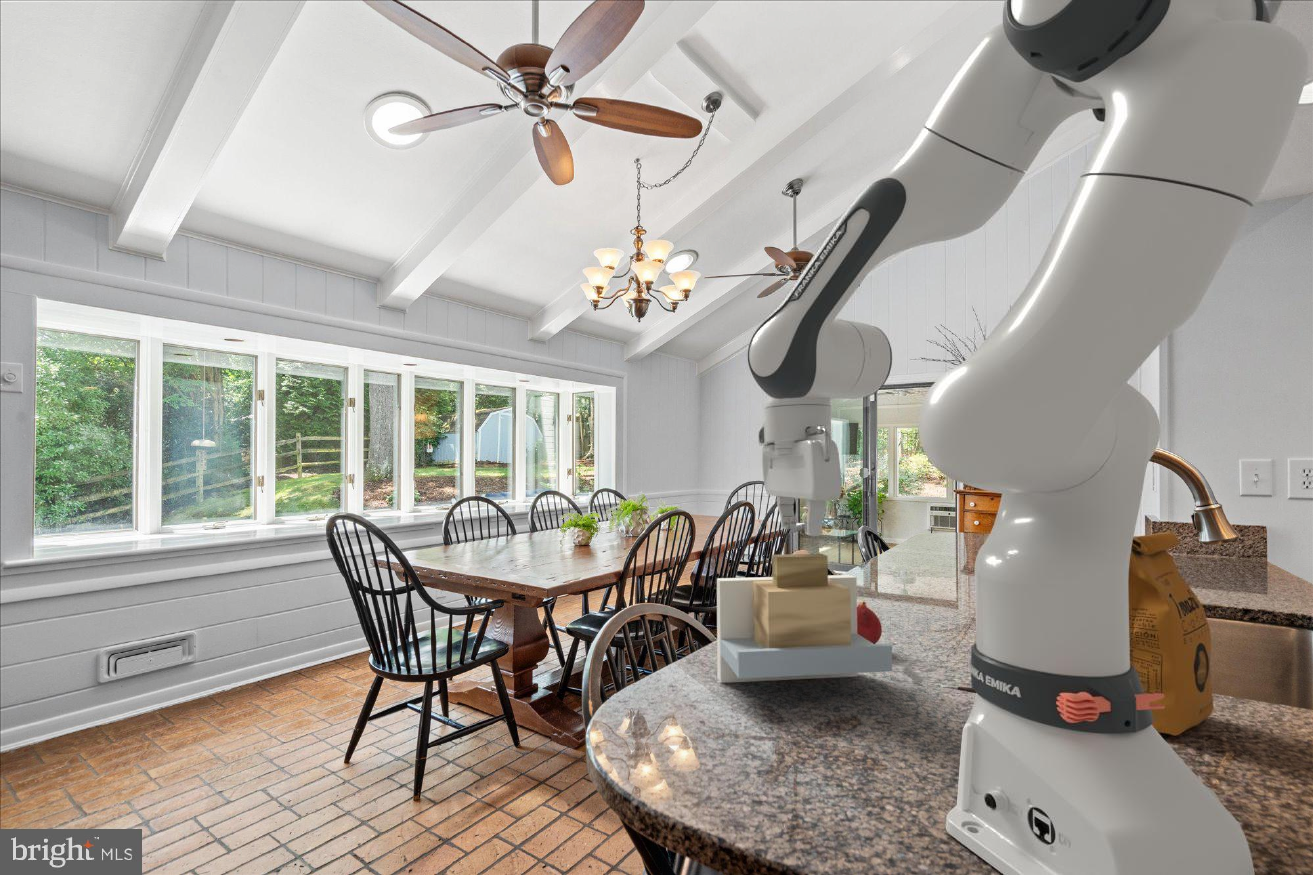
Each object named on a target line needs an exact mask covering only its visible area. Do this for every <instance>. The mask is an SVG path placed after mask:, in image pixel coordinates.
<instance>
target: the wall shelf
mask: <svg viewBox="0 0 1313 875" xmlns="http://www.w3.org/2000/svg"><path fill="white" fill-rule="evenodd" d="M828 579H829V580H831V581H833V582H835V583H838V584H840V585H842V586H844V587H846V588H848V589H850V610H851V645H839V646H814V647H790V648H766V649H762V648H761V647H760V646H759V645H758V644H757V643H756V642H755V641H754V631H753V581H773V580H772V576H763V577H762V576H761V577H757V576H756V577H755V576H754V577H720V578H719V577H717V578H716V641H717V642H716V643H717V646H716V649H717V651H716V652H717V653H716V654H717V657H716V658H717V659H716V660H717V663H716V664H717V670H716V671H717V673H716V674H717V675H716V676H717V680H718V681H719V682H720V683H721V684H722V683H724V684H725V683H727V684H728V683H744V682H745V683H747V682H749V683H750V682H764V681H765V682H767V681H789V680H804V679H805V680H806V679H807V680H808V679H827V678H828V679H829V678H848V677H850V678H851V677H858V676H859V674H861V673H862V674H863V673H882V672H884V673H885V672H893V645H891V644H890V643H876V644H873V643H871V642H870V641H868V640H867V639H865V638H863V637H862V636H860V635H858V634H857V607H858V602H857V601H858V597H857V596H858V594H857V593H858V592H857V586H858V585H857V583H858V582H857V576H854V575H851V574H836V575H835V574H833V575H831V574H828ZM858 673H859V674H858Z"/></svg>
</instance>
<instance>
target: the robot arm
mask: <svg viewBox="0 0 1313 875" xmlns="http://www.w3.org/2000/svg"><path fill="white" fill-rule="evenodd" d="M1002 10H1003V11H1002V23H1000V24H998V25H997V26H995V27H993V28H992V29H991V30H989V32H988V33H986V35H984V37H982V39H981V40H980V41H979V43H978V44H977V45H976V47H975V48H974V49H973V50H972V52H971V53H970V54H969V55H968V57H967V58H966V59H965V60H964V62H963V63H962V65H961V66H960V68H959V69H958V71H956V73H955V75H954V76H953V77H952V79H951V81H950V82H949V83H948V85H947V87H946V88H945V89H944V91H943V93H942V94H941V96H940V97H939V98H938V100H937V102H936V104H935V105H934V107H933V108H932V110H931V112H930V114H929V115H928V117H927V118H926V120H925V122H924V125H922V127H921V129H920V131H919V132H918V134H917V136H916V137H915V139H914V140H913V142H912V143H911V145H910V147H908V149H907V150H906V152H905V153H904V154H903V155H902V156H901V158H900V159H899V160H898V161H897V162H896V163H895V164H894V165H893V166H892V167H891V168H890V169H889V171H887V172H886V174H885V175H883V176H882V177H881V178H880V179H878V180H877V181H874V182H873V183H870V184H869V185H867V186H866V187H865V188H863V190H862V191H860V192H859V194H858V195H857V196H856V197H855V198H854V199H853V200H852V201H851V203H850V204H849V205H848V207H847V208H846V209H845V211H844V212H843V213H842V215H840V217H839V219H838V220H837V222H836V223H835V224H834V225H833V227H832V229H831V230H830V232H829V233H828V234H827V236H826V237H825V239H824V240H823V241H822V243H821V244H820V246H819V248H818V249H817V250H816V251H815V253H814V255H813V256H812V257H811V259H810V260H809V262H808V264H807V265H806V266H805V268H804V269H803V271H802V272H801V273H800V274H799V276H798V278H797V280H796V281H795V282H794V284H793V285H792V287H791V288H790V290H789V291H788V292H787V294H786V295H785V297H784V298H783V299H782V300H781V302H779V303H778V305H777V306H776V307H775V308H773V310H772V311H771V312H770V313H769V314H768V315H767V316H766V317H765V319H763V321H761V323H760V324H759V325H758V327H757V328H756V330H755V331H754V333H753V335H752V337H751V338H750V341H749V345H748V349H747V364H748V368H749V370H750V373H751V375H752V377H753V379H754V381H755V382H756V384H757V385H758V387H760V389H761V390H762V391H763V392H764V393H765V394H766V400H765V402H764V420H763V424H762V426H761V428H760V429H759V431H758V433H757V441H758V445H759V446H762V450H761V463H762V464H761V465H762V475H763V476H762V477H763V478H762V479H763V485H764V489H765V491H766V494H767V495H768V496H773V497H776V504H777V509H778V512H779V515H780V526H781V528H782V529H784V530H795V529H796V528H797V516H796V515H795V512H794V504H795V499H798V500H799V499H800V500H805V508H806V509H807V513H806V514H807V515H806V520H804V533H805V534H806V535H807V536H809V537H810V536H811V537H819V536H821V535H822V534H823V521H824V518H825V514H826V511H827V510H826V509H827V501H837V500H839V499H840V497H841V494H842V489H843V484H842V483H843V482H842V473H841V472H842V471H841V462H840V453H839V449H838V445H837V443H836V442H835V441H834V440H833V439H832V438H833V437H832V411H831V410H832V408H831V399H845V400H850V399H852V400H857V399H861V398H865V397H871V396H874V394H876V393H877V392H878V391H880V390H881V389H882V387H884V385H885V383H886V381H887V380H888V379H889V376H890V373H891V369H892V366H893V350H892V346H891V343H890V341H889V338H888V337H887V335H886V334H885V333H884V332H883V331H884V330H881V329H880V328H879V327H877V326H874V325H871V324H868V323H864V322H860V321H853V320H844V319H841V318H836V317H837V316H838V315H839V313H840V312H841V311H842V309H843V308H844V307H845V306H846V304H847V303H848V302H849V300H850V299H851V297H852V296H853V295H854V293H855V292H856V290H857V289H858V288H859V287H860V285H861V284H862V283H863V281H864V280H865V279H866V277H867V276H868V274H870V273H871V271H872V270H873V269H875V267H876V266H878V265H879V264H881V263H882V262H883V261H885V260H887V259H888V258H890V257H892V256H894V255H897V254H899V253H901V252H904V251H907V250H909V249H913V248H916V247H920V246H923V245H927V244H928V245H929V244H933V243H938V242H944V241H950V240H954V239H957V238H961V237H963V236H966V235H968V234H970V233H972V232H974V231H977V230H979V229H981V228H983V226H985V224H987V222H989V220H991V218H993V217H994V216H995V214H996V213H997V212H998V211H999V210H1000V209H1001V208H1002V207H1003V206H1004V205H1005V203H1006V202H1007V201H1008V199H1009V198H1010V197H1011V195H1012V194H1013V192H1014V191H1015V189H1016V188H1017V186H1018V185H1019V183H1020V182H1021V180H1022V179H1023V177H1024V176H1025V174H1026V172H1027V171H1028V170H1029V168H1030V167H1031V165H1032V164H1033V162H1034V160H1035V159H1036V157H1037V156H1038V155H1039V153H1040V151H1041V149H1042V147H1043V146H1044V145H1045V144H1046V142H1047V141H1048V139H1049V138H1050V137H1051V135H1052V134H1053V133H1054V132H1055V131H1056V129H1057V128H1058V127H1059V126H1061V125H1062V123H1063V122H1065V121H1066V120H1067V119H1069V118H1070V117H1073V116H1074V115H1076V114H1078V113H1080V112H1084V111H1087V110H1088V111H1089V110H1091V111H1092V113H1093V116H1094V118H1095V119H1096V120H1097V121H1098V122H1101V123H1102V122H1103V125H1102V128H1101V131H1100V133H1099V137H1098V139H1097V141H1096V144H1095V146H1094V147H1093V149H1092V152H1091V154H1090V156H1089V158H1088V160H1087V162H1086V164H1085V166H1084V168H1083V171H1082V172H1081V174H1080V178H1078V181H1077V184H1076V185H1075V188H1074V190H1073V193H1072V194H1071V197H1070V199H1069V201H1068V203H1067V205H1066V208H1065V210H1064V211H1063V214H1062V216H1061V218H1060V220H1059V222H1058V224H1057V227H1056V229H1055V231H1054V233H1053V235H1052V237H1051V239H1050V242H1049V244H1048V245H1047V248H1046V250H1045V252H1044V253H1043V256H1042V258H1041V260H1040V262H1039V264H1038V266H1037V268H1036V269H1035V271H1034V273H1033V274H1032V277H1031V279H1029V282H1028V283H1027V285H1026V286H1025V288H1024V289H1023V291H1022V292H1021V293H1020V294H1019V297H1018V298H1017V299H1016V300H1015V302H1014V303H1013V305H1012V306H1011V307H1010V309H1009V310H1008V311H1007V313H1006V314H1005V315H1004V316H1003V317H1002V319H1001V320H1000V321H999V323H998V324H997V325H996V327H995V328H994V329H993V330H992V332H990V334H989V335H988V336H987V338H985V340H984V341H983V342H982V343H981V345H980V346H979V347H978V348H977V349H976V350H974V352H973V353H971V355H970V356H969V357H967V358H966V359H965V360H963V361H962V362H961V363H959V364H957V366H955V367H953V368H951V369H950V370H948V371H947V372H945V373H943V375H941V376H940V377H939V378H938V379H936V381H935V382H934V383H933V384H932V385H931V386H930V388H929V390H928V391H927V393H926V395H925V396H924V398H923V400H922V402H921V405H920V410H919V414H918V422H917V424H918V426H917V427H918V438H919V441H920V444H921V447H922V449H923V452H924V454H925V456H926V457H927V459H928V461H929V462H930V463H931V464H932V466H933V467H934V468H935V469H936V470H938V471H939V472H940V473H941V474H942V475H943V476H946V477H948V478H949V479H951V480H953V481H956V482H958V483H962V484H964V485H967V486H969V487H973V488H976V489H979V490H983V491H986V492H991V493H995V494H1001V498H1000V501H999V502H1000V503H999V505H998V510H997V513H996V517H995V520H994V523H993V526H992V528H991V531H990V533H989V535H988V536H987V539H986V540H985V541H984V543H983V544H982V545H981V547H980V548H979V549H978V552H977V554H976V557H975V561H974V600H975V601H974V603H975V605H974V606H975V607H974V608H975V643H974V644H972V645H971V649H970V650H971V651H970V658H969V671H970V684H971V685H970V686H971V688H973V689H974V691H975V692H976V693H975V697H974V698H975V699H974V701H973V704H972V708H971V711H970V714H969V716H968V718H967V720H966V722H965V723H964V726H963V728H962V735H961V745H960V746H961V747H960V755H959V756H960V759H959V771H958V783H957V785H958V786H957V797H956V799H957V800H956V805H955V806H954V807H953V808H952V809H950V811H949V812H948V813H947V815H946V817H945V820H946V822H945V830H946V831H947V833H948V834H949V835H950V836H952V837H953V838H955V839H956V841H958V842H960V843H961V844H962V845H963V846H965V847H967V848H968V849H969V851H971V852H973V853H974V854H976V855H977V856H978V857H980V858H981V859H982V860H984V861H985V862H986V863H988V864H989V865H990V866H992V867H993V868H994V869H996V870H997V871H998V872H1000V873H1001V874H1003V875H1255V870H1254V869H1255V868H1254V864H1253V863H1254V862H1253V858H1252V854H1251V850H1250V847H1249V843H1248V840H1247V837H1246V835H1245V833H1244V830H1243V828H1242V827H1241V824H1240V823H1239V821H1238V820H1237V819H1236V818H1235V817H1234V816H1233V814H1232V813H1230V811H1229V810H1228V809H1227V808H1226V807H1225V806H1224V805H1223V804H1222V802H1221V800H1220V798H1219V797H1218V795H1217V793H1216V792H1215V791H1214V790H1213V789H1212V788H1211V787H1209V786H1207V785H1205V784H1204V783H1203V782H1202V780H1200V778H1199V777H1198V776H1197V775H1196V774H1195V773H1194V772H1193V771H1192V769H1191V768H1190V767H1189V766H1188V764H1186V763H1185V761H1184V760H1183V759H1182V758H1181V757H1180V755H1179V754H1178V753H1177V752H1176V751H1175V750H1174V749H1173V748H1172V746H1171V745H1170V744H1169V743H1168V742H1167V741H1166V740H1165V739H1164V738H1163V737H1162V735H1161V733H1159V732H1157V731H1156V729H1155V728H1154V727H1153V725H1152V723H1153V721H1154V718H1153V715H1152V712H1151V710H1153V709H1164V708H1165V706H1162V705H1149V703H1150V702H1151V701H1157V700H1159V699H1162V698H1164V695H1163V694H1161V693H1155V694H1145V692H1144V689H1143V687H1142V684H1141V681H1140V679H1139V676H1138V674H1137V671H1136V669H1135V668H1134V666H1133V665H1132V664H1130V638H1129V594H1128V576H1129V563H1130V554H1131V547H1132V542H1133V536H1135V530H1136V526H1137V521H1138V515H1139V512H1140V511H1139V510H1140V507H1141V501H1142V495H1143V489H1144V482H1145V477H1146V471H1147V467H1148V464H1149V462H1150V460H1151V458H1152V457H1153V456H1154V454H1155V452H1156V450H1157V447H1158V444H1159V441H1160V436H1161V426H1160V420H1159V419H1160V418H1159V416H1158V414H1157V411H1156V409H1155V407H1154V406H1153V404H1152V403H1151V402H1150V401H1149V399H1147V398H1146V396H1144V395H1143V394H1142V392H1140V391H1139V390H1138V389H1137V388H1135V387H1134V386H1132V385H1131V384H1130V383H1128V382H1129V381H1130V380H1131V378H1132V377H1133V376H1134V375H1135V374H1136V372H1137V371H1138V370H1139V369H1140V368H1141V366H1142V365H1143V364H1144V362H1145V361H1146V360H1147V359H1148V358H1149V357H1150V355H1152V353H1153V352H1154V351H1155V350H1156V349H1157V348H1158V347H1159V346H1160V345H1161V344H1162V342H1164V340H1165V339H1166V338H1167V337H1169V336H1170V335H1171V334H1172V333H1173V332H1174V331H1175V330H1177V329H1178V328H1180V327H1182V326H1183V325H1184V324H1185V323H1186V322H1187V321H1188V320H1190V319H1191V317H1192V316H1193V315H1194V313H1195V312H1196V311H1197V310H1198V309H1197V308H1198V307H1199V305H1200V304H1201V302H1202V300H1203V298H1204V296H1205V294H1206V293H1207V291H1208V289H1209V287H1210V285H1211V284H1212V282H1213V280H1214V279H1215V276H1216V275H1217V273H1218V271H1219V269H1220V267H1221V266H1222V264H1223V262H1224V261H1225V259H1226V257H1227V256H1228V253H1229V251H1230V249H1231V248H1232V247H1233V244H1234V242H1235V240H1236V239H1237V236H1238V235H1239V234H1240V231H1241V230H1242V228H1243V227H1244V224H1245V222H1246V221H1247V219H1248V217H1249V215H1250V214H1251V212H1252V210H1253V208H1254V206H1255V204H1256V203H1257V201H1258V199H1259V197H1260V195H1261V192H1262V191H1263V189H1264V187H1265V185H1266V184H1267V181H1268V180H1269V177H1270V175H1271V174H1272V170H1273V169H1274V167H1275V165H1276V162H1277V161H1278V158H1279V155H1280V153H1281V151H1282V148H1283V145H1284V143H1285V141H1286V139H1287V136H1288V133H1289V132H1290V128H1291V125H1292V123H1293V120H1294V117H1295V114H1296V112H1297V109H1298V106H1299V103H1300V101H1301V97H1302V94H1303V91H1304V90H1303V89H1304V87H1305V84H1306V80H1307V77H1308V72H1309V56H1308V52H1307V50H1306V47H1305V46H1304V45H1303V43H1302V42H1301V40H1300V39H1299V38H1298V37H1296V35H1295V34H1293V33H1292V32H1290V31H1288V30H1286V29H1285V28H1283V27H1281V26H1278V25H1276V24H1272V23H1271V19H1270V14H1269V11H1268V8H1267V6H1266V3H1265V0H1004V3H1003V9H1002Z"/></svg>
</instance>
